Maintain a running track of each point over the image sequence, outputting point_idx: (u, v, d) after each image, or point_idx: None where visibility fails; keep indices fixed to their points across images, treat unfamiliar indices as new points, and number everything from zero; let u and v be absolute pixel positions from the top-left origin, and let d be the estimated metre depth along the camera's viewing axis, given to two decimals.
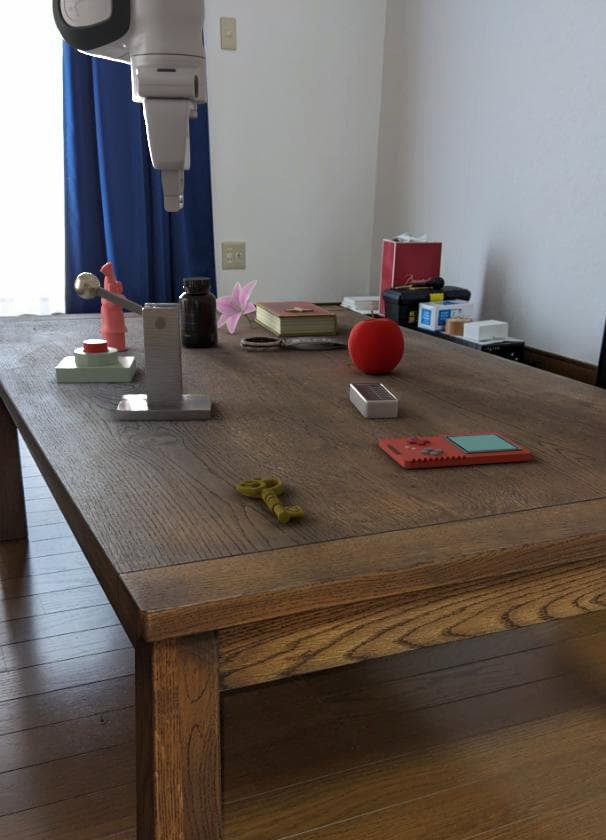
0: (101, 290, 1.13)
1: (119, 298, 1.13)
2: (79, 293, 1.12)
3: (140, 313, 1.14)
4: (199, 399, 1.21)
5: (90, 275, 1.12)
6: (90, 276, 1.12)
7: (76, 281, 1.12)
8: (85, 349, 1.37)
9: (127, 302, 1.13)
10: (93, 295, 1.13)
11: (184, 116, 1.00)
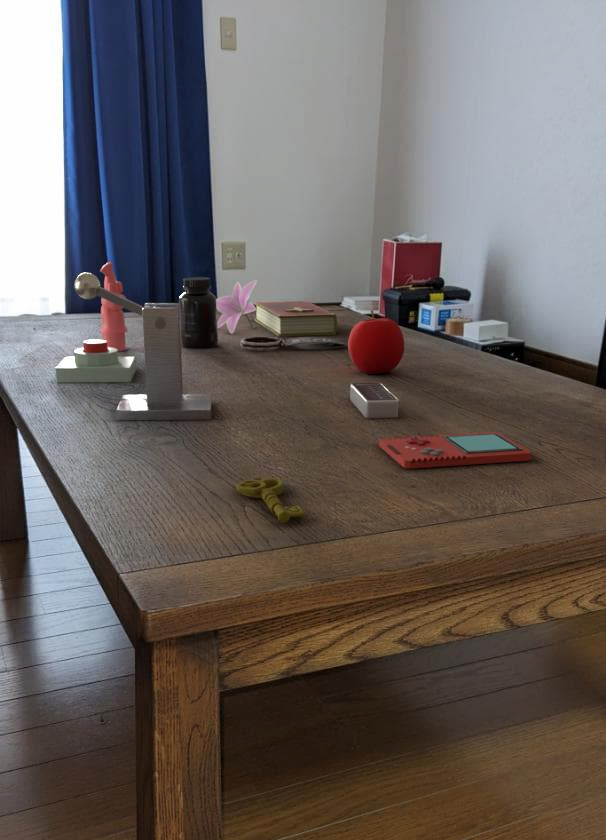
0: (101, 290, 1.13)
1: (119, 298, 1.13)
2: (79, 293, 1.12)
3: (140, 313, 1.14)
4: (199, 399, 1.21)
5: (90, 275, 1.12)
6: (90, 276, 1.12)
7: (76, 281, 1.12)
8: (85, 349, 1.37)
9: (127, 302, 1.13)
10: (93, 295, 1.13)
11: None
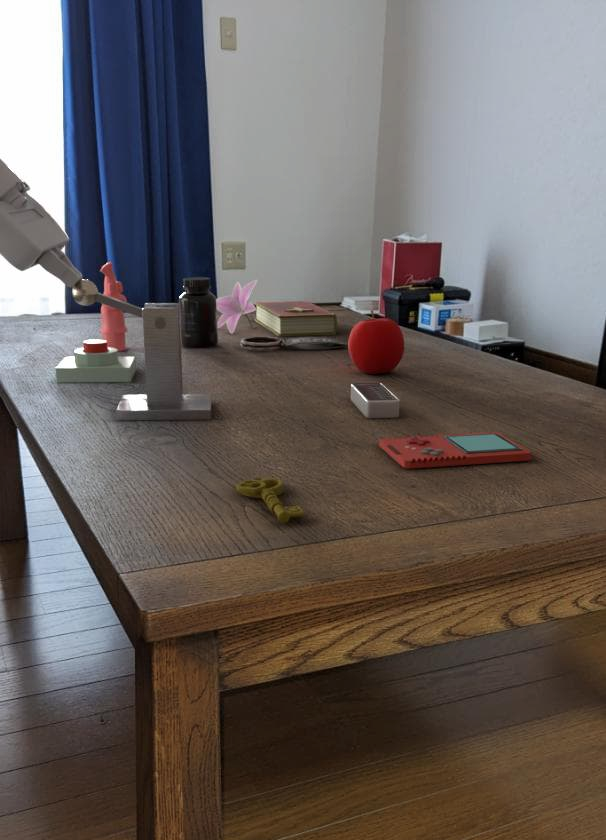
0: (99, 295, 1.13)
1: (117, 302, 1.13)
2: (77, 300, 1.12)
3: (140, 315, 1.14)
4: (199, 399, 1.21)
5: (87, 281, 1.12)
6: (87, 282, 1.12)
7: (73, 289, 1.12)
8: (85, 349, 1.37)
9: (126, 305, 1.14)
10: (91, 301, 1.13)
11: None
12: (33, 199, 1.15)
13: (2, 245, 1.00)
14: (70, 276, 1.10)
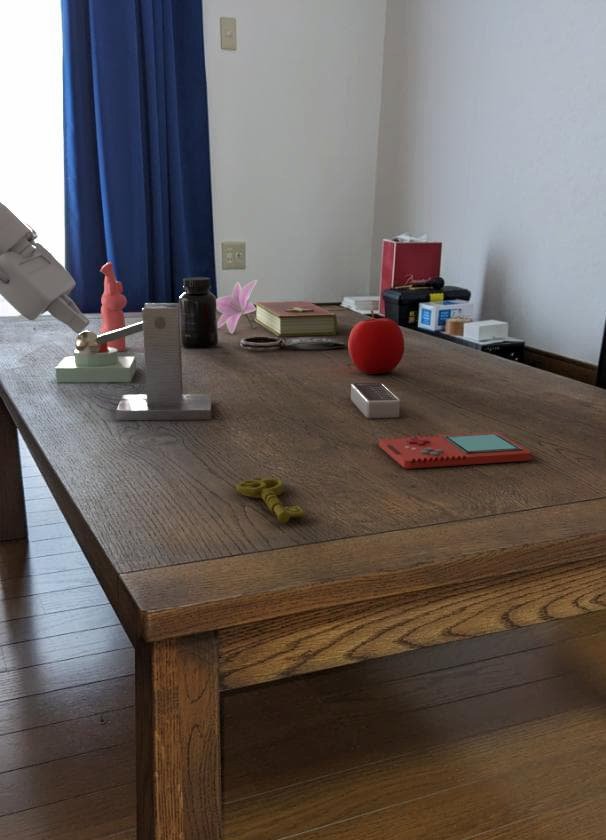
0: (99, 337, 1.15)
1: (117, 331, 1.15)
2: (86, 354, 1.15)
3: (141, 329, 1.15)
4: (199, 399, 1.21)
5: (82, 333, 1.14)
6: (83, 334, 1.14)
7: (77, 347, 1.15)
8: None
9: (125, 329, 1.15)
10: (97, 346, 1.15)
11: None
12: (41, 246, 1.17)
13: (12, 296, 1.03)
14: (78, 322, 1.13)
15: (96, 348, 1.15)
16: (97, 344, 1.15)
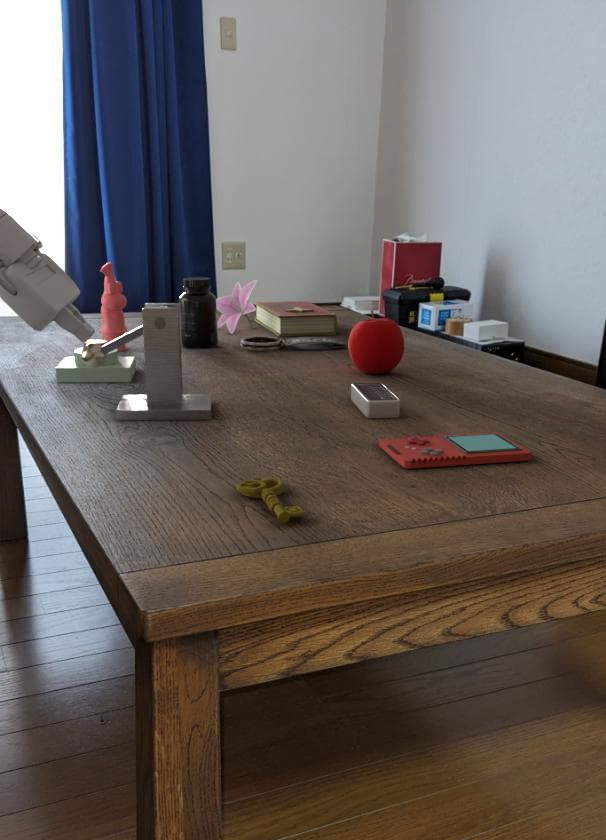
0: (104, 347, 1.15)
1: (120, 338, 1.15)
2: (94, 366, 1.16)
3: None
4: (199, 399, 1.21)
5: (86, 346, 1.15)
6: (87, 346, 1.15)
7: (83, 360, 1.15)
8: None
9: (127, 335, 1.15)
10: (103, 356, 1.16)
11: None
12: (46, 255, 1.18)
13: (20, 307, 1.04)
14: (84, 332, 1.14)
15: (102, 358, 1.15)
16: (102, 354, 1.15)
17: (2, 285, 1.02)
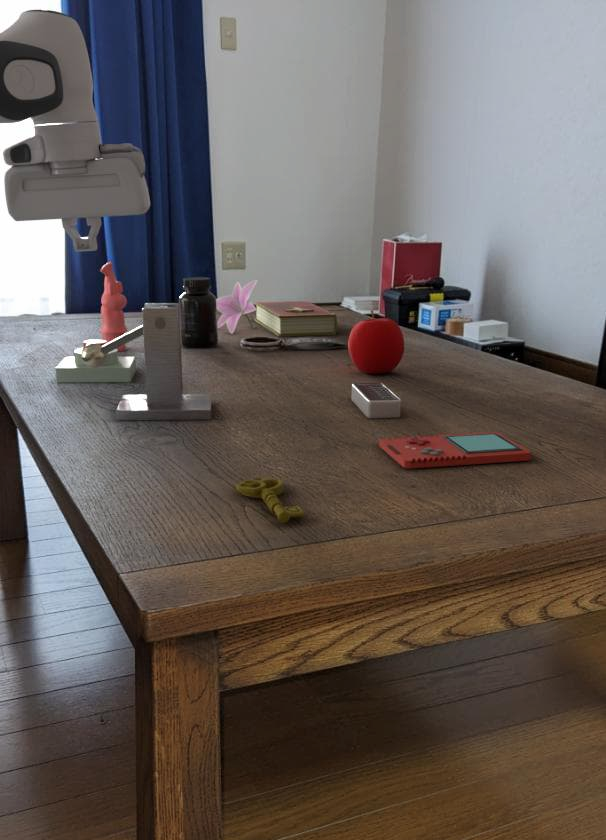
0: (104, 347, 1.15)
1: (120, 338, 1.15)
2: (94, 366, 1.16)
3: None
4: (199, 399, 1.21)
5: (86, 346, 1.15)
6: (87, 346, 1.15)
7: (83, 360, 1.15)
8: None
9: (127, 335, 1.15)
10: (103, 356, 1.16)
11: None
12: None
13: (142, 188, 1.24)
14: (95, 243, 1.29)
15: (102, 358, 1.15)
16: (102, 354, 1.15)
17: (143, 164, 1.23)
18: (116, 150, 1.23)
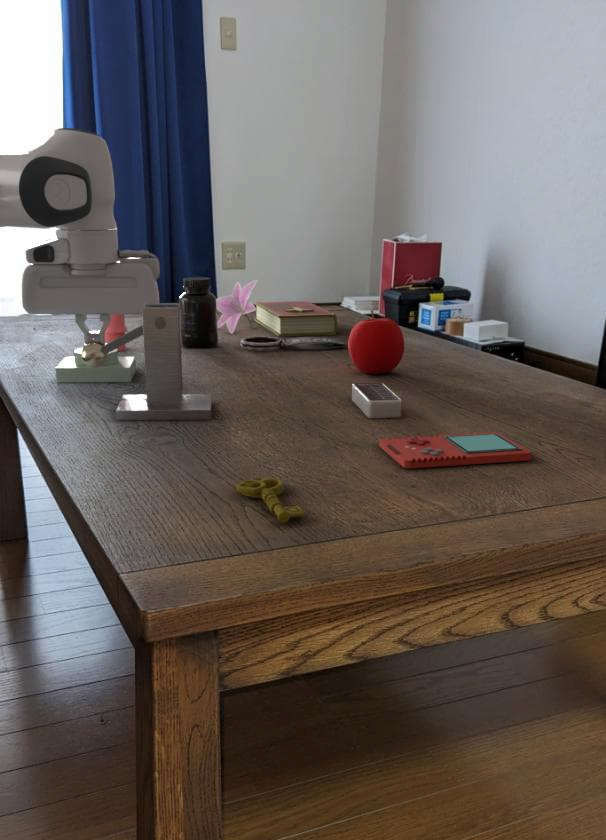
0: (104, 347, 1.15)
1: (120, 338, 1.15)
2: (94, 366, 1.16)
3: None
4: (199, 399, 1.21)
5: (86, 346, 1.15)
6: (87, 346, 1.15)
7: (83, 360, 1.15)
8: None
9: (127, 335, 1.15)
10: (103, 356, 1.16)
11: None
12: None
13: (156, 291, 1.35)
14: (104, 337, 1.38)
15: (102, 358, 1.15)
16: (102, 354, 1.15)
17: (159, 270, 1.34)
18: (134, 256, 1.33)
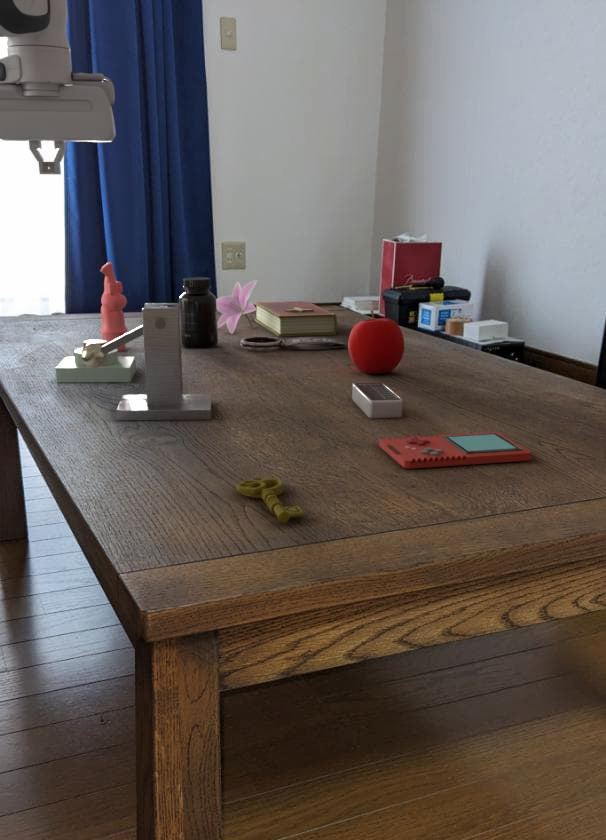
0: (104, 347, 1.15)
1: (120, 338, 1.15)
2: (94, 366, 1.16)
3: None
4: (199, 399, 1.21)
5: (86, 346, 1.15)
6: (87, 346, 1.15)
7: (83, 360, 1.15)
8: None
9: (127, 335, 1.15)
10: (103, 356, 1.16)
11: None
12: None
13: (112, 116, 1.33)
14: (59, 167, 1.36)
15: (102, 358, 1.15)
16: (102, 354, 1.15)
17: (114, 94, 1.32)
18: (88, 78, 1.31)
